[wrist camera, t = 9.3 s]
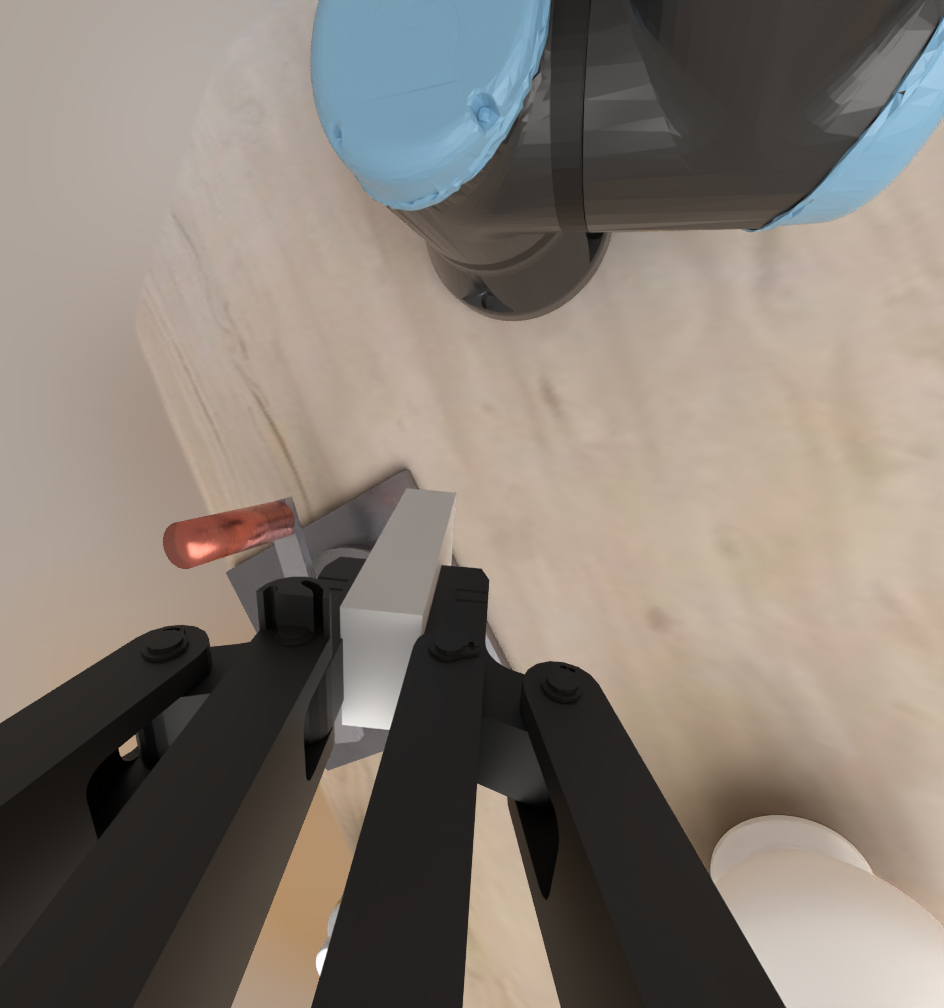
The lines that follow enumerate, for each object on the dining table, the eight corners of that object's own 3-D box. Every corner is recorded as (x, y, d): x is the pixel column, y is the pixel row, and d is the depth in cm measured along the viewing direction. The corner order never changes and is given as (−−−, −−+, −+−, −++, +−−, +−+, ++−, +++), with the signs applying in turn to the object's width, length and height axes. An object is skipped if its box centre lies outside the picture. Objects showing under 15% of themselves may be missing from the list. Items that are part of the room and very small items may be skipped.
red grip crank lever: (436, 707, 47) (357, 823, 33) (311, 722, 51) (195, 829, 38) (369, 475, 45) (257, 497, 32) (245, 512, 50) (101, 545, 36)
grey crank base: (236, 568, 56) (209, 578, 53) (409, 469, 49) (391, 473, 45) (335, 762, 56) (315, 784, 53) (524, 694, 48) (516, 715, 45)
